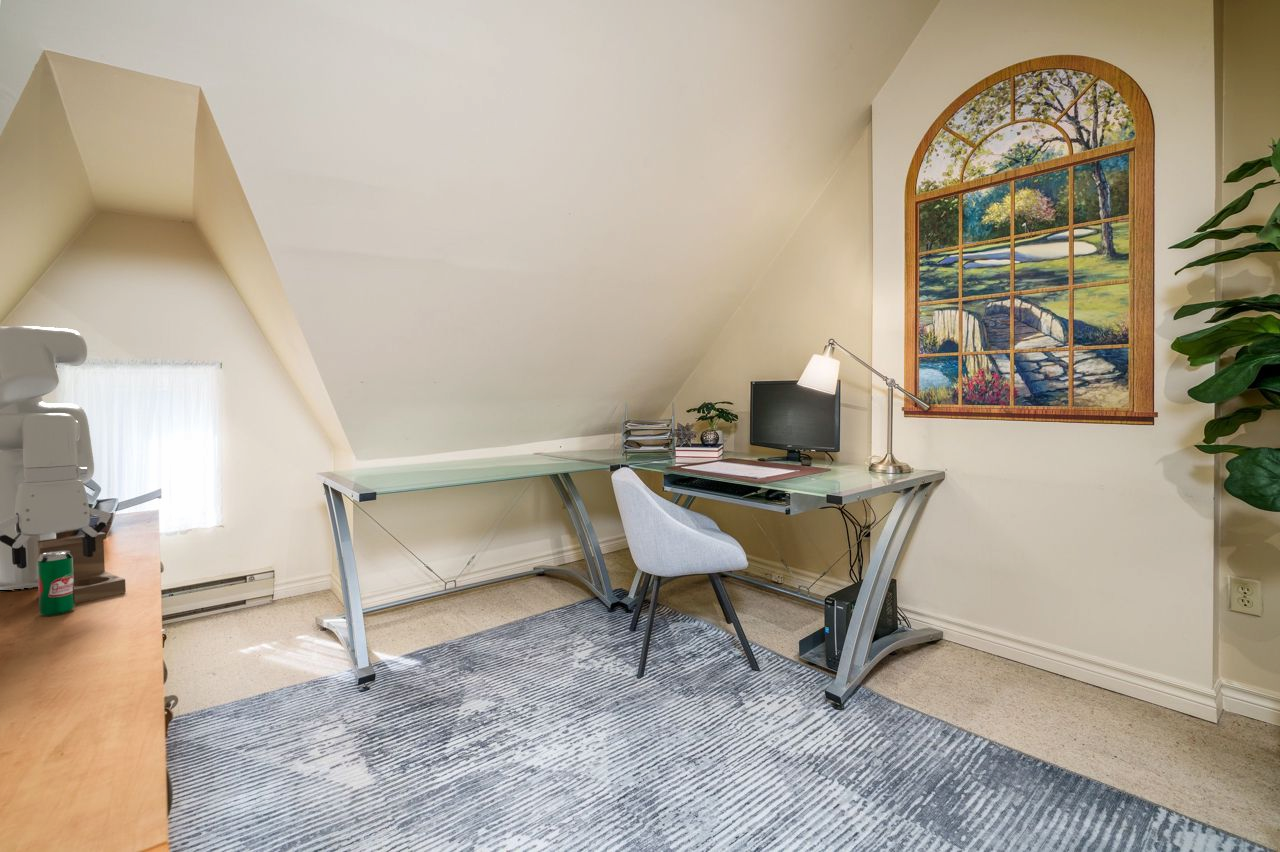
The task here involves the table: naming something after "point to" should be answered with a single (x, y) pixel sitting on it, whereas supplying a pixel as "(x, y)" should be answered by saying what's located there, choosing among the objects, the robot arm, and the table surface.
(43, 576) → the soda can
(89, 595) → the socket block
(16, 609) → the table surface
